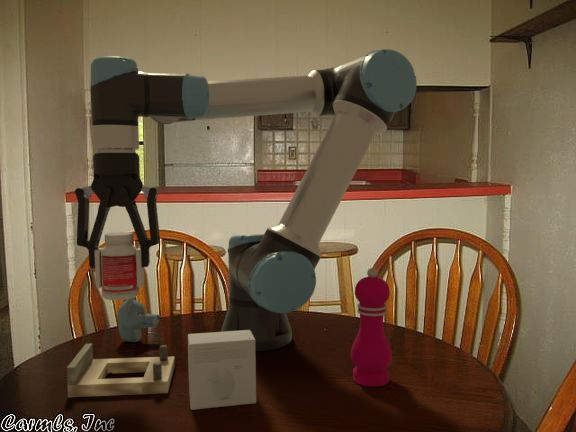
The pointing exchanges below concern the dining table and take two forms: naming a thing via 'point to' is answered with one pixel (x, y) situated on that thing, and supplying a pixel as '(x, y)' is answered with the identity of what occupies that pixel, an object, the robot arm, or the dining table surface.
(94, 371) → the jig
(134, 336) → the wolf head
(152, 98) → the robot arm
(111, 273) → the pill bottle
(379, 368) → the pepper mill
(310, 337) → the dining table surface
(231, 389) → the skincare box
